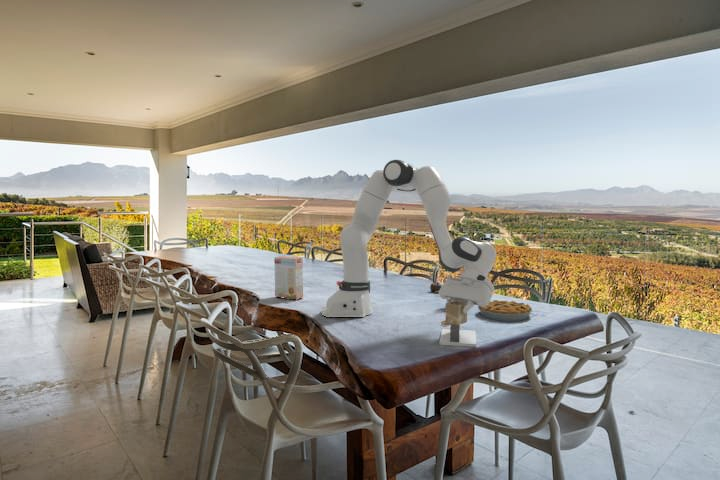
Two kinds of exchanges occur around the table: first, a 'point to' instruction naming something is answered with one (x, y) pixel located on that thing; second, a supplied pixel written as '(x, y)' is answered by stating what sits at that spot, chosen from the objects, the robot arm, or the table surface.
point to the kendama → (435, 287)
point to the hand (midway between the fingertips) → (455, 310)
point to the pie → (505, 310)
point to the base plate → (465, 338)
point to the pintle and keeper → (454, 333)
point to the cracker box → (288, 277)
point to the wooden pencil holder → (454, 314)
